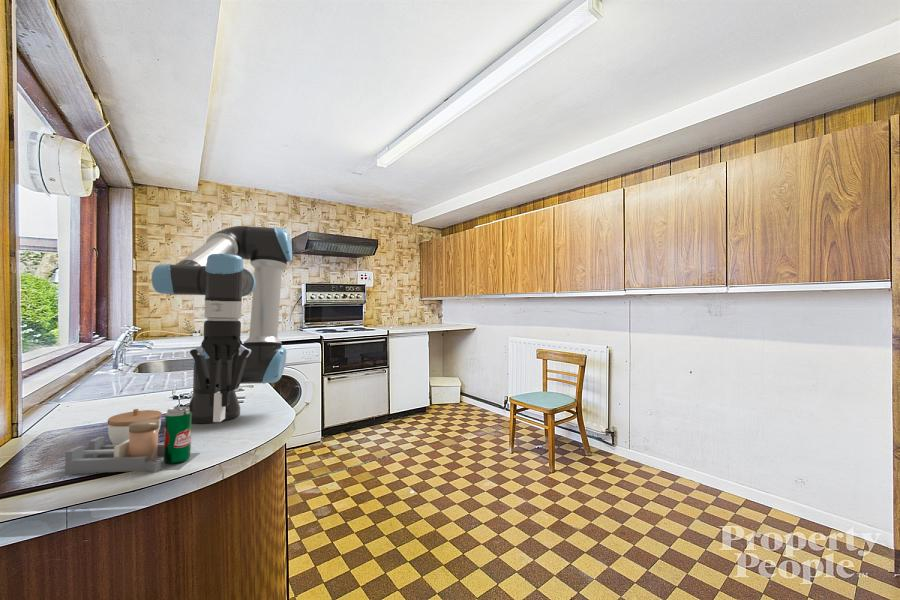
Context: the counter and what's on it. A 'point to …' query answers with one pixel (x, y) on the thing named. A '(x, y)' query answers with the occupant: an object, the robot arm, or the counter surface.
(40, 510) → the counter surface
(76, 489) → the counter surface
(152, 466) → the grey divided tray
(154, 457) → the jar
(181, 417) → the soda can
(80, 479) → the counter surface
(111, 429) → the lidded jar
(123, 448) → the pusher
